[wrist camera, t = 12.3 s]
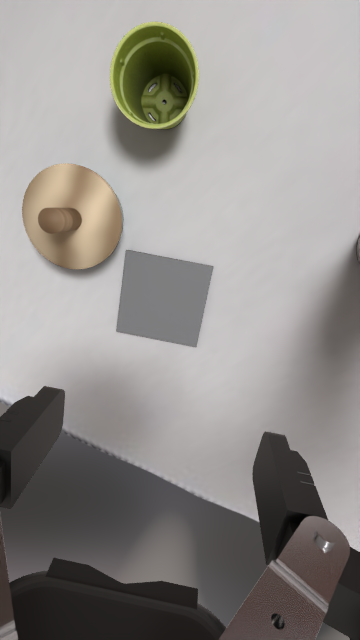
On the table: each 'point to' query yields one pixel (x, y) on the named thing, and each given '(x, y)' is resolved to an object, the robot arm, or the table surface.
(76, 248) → the lid
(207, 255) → the table surface
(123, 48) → the plant pot
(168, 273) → the mat
